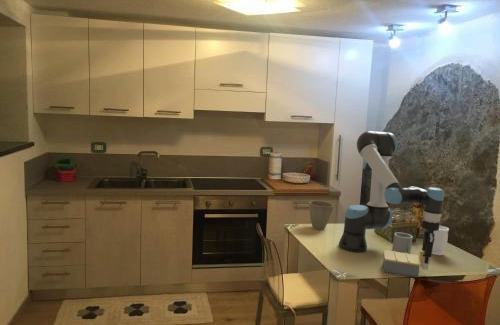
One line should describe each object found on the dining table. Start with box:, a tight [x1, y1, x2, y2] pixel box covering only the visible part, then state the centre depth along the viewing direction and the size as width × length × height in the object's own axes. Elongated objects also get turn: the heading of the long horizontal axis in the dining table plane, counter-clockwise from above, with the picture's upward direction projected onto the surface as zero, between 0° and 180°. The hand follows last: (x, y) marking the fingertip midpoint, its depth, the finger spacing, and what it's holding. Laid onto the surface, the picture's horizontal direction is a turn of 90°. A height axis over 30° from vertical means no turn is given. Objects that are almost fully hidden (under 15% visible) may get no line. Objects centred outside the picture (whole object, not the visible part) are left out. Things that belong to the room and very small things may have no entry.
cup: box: [391, 232, 414, 254], centre depth 221 cm, size 9×9×12 cm
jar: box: [431, 225, 450, 256], centre depth 232 cm, size 11×10×15 cm
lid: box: [382, 249, 431, 267], centre depth 201 cm, size 21×13×5 cm, turn 76°
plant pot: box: [308, 200, 334, 231], centre depth 261 cm, size 15×15×16 cm
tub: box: [382, 257, 421, 279], centre depth 202 cm, size 15×12×6 cm
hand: (424, 267), depth 199 cm, fingers closed on lid, 3 cm apart
